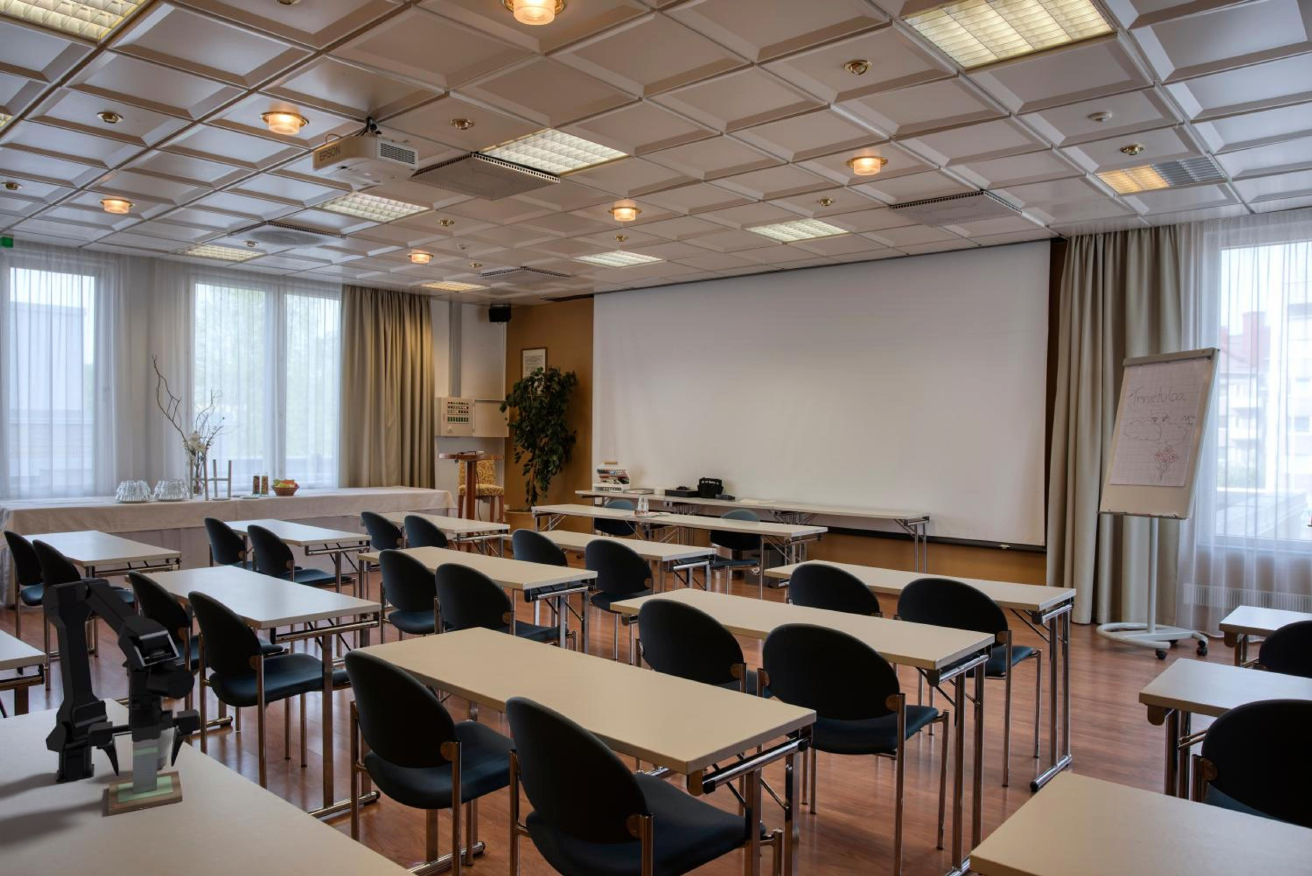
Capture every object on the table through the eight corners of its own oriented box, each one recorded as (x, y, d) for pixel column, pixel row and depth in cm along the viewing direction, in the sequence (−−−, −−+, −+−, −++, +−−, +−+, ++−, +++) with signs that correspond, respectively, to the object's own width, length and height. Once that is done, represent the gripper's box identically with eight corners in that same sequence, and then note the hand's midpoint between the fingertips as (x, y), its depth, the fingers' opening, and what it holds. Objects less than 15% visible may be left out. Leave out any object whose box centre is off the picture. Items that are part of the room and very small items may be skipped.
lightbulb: (142, 776, 176) (142, 723, 176) (144, 765, 181) (144, 714, 181) (176, 771, 179) (176, 719, 179) (177, 760, 184) (177, 710, 184)
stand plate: (109, 788, 170) (109, 782, 170) (178, 775, 177) (178, 769, 177) (108, 815, 158) (108, 809, 158) (182, 801, 165) (182, 795, 165)
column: (132, 787, 168) (132, 741, 168) (156, 782, 170) (156, 737, 170) (132, 794, 165) (133, 748, 165) (157, 790, 167) (157, 744, 167)
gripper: (87, 711, 155) (86, 796, 156) (203, 695, 165) (202, 775, 166) (89, 694, 165) (88, 775, 165) (198, 680, 175) (197, 756, 175)
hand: (145, 770), depth 167 cm, fingers open, 9 cm apart
